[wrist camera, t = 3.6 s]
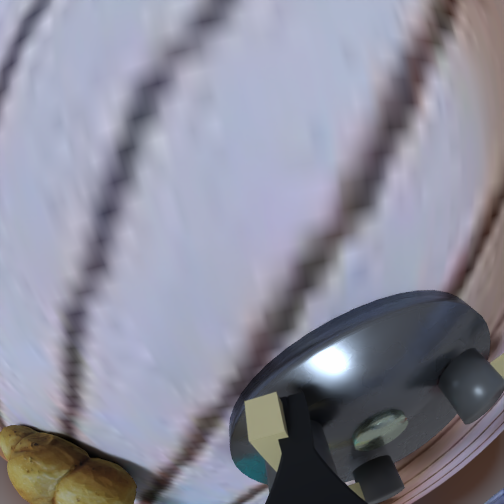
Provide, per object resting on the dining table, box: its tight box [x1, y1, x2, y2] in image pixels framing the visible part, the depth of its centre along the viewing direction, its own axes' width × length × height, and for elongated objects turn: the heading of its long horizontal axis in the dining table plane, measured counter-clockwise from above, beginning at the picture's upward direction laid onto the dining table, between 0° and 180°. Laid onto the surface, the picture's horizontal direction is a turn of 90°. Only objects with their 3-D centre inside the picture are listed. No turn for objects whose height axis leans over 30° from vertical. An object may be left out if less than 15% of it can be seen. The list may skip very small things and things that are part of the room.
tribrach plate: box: [229, 290, 490, 485], centre depth 14 cm, size 18×18×2 cm
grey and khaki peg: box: [244, 392, 339, 493], centre depth 10 cm, size 7×3×3 cm, turn 20°
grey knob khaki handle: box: [348, 455, 405, 504], centre depth 14 cm, size 7×3×3 cm, turn 103°
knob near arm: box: [438, 348, 504, 424], centre depth 11 cm, size 7×3×3 cm, turn 103°
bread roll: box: [0, 425, 137, 504], centre depth 12 cm, size 13×10×8 cm
